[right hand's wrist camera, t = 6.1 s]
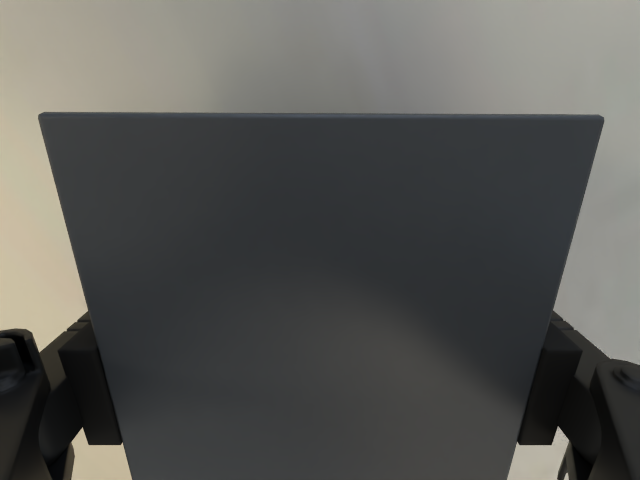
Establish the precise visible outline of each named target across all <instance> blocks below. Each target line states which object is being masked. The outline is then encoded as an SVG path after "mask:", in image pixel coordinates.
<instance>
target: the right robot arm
mask: <svg viewBox="0 0 640 480" xmlns="http://www.w3.org/2000/svg"><path fill="white" fill-rule="evenodd" d="M558 426H559V427H560V429H561V430H562V431H563V433H564V434H565V435H566V437H567V438H568V439H569V443H568V446H567V449H566V452H565V454H564V457H563V460H562V463H561V466H560V468H559V471H558V477H557V479H558V480H564V477H565V474H566V473H568V476H569V480H640V365H637V364H634V363H631V362H628V361H623V360H617V359H610V358H609V357H607V356H606V355H605V354H604V353H603V352H601V351H600V350H599V349H598V348H597V347H596V346H594V345H593V344H592V343H591V342H590V341H589V340H587V339H586V338H585V337H584V336H583V335H581V334H580V333H579V332H578V331H577V330H574V328H573V327H572V326H571V325H570V324H568V323H567V322H566V321H563V318H561V317H560V316H559V315H558V314H557V313H555V312H554V311H552V315H551V319H550V322H549V326H548V330H547V333H546V337H545V341H544V344H543V348H542V352H541V355H540V359H539V363H538V367H537V370H536V374H535V378H534V381H533V385H532V389H531V392H530V396H529V400H528V403H527V407H526V411H525V414H524V418H523V422H522V425H521V429H520V433H519V436H518V440H517V442H518V443H519V445H552V442H553V439H554V436H555V433H556V430H557V427H558ZM82 427H83V429H84V432H85V435H86V438H87V441H88V444H89V445H121V444H122V438H121V434H120V430H119V426H118V422H117V419H116V415H115V411H114V407H113V403H112V399H111V395H110V392H109V388H108V384H107V380H106V376H105V372H104V369H103V365H102V361H101V357H100V353H99V349H98V346H97V342H96V338H95V334H94V330H93V326H92V323H91V319H90V315H89V311H88V312H86V313H85V314H84V315H83V316H82V317H81V318H79V319H78V321H77V322H75V323H74V324H72V325H71V326H70V327H69V328H68V329H67V331H64V332H63V333H62V334H61V335H60V336H58V337H57V338H56V339H55V340H54V341H53V342H51V343H50V344H49V345H48V346H47V347H46V348H44V349H43V350H42V351H41V352H40V353H39V351H38V348H37V345H36V343H35V340H34V337H33V334H32V332H30V331H28V330H26V329H9V330H2V331H0V480H71V477H72V471H73V464H74V457H75V455H74V449H73V446H72V443H71V442H72V440H73V439H74V438H75V436H76V435H77V434H78V432H79V431H80V430H81V428H82Z"/></svg>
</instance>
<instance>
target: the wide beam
mask: <svg viewBox="0 0 640 480" xmlns="http://www.w3.org/2000/svg"><path fill="white" fill-rule="evenodd" d="M38 119H39V123H40V127H41V131H42V135H43V139H44V142H45V146H46V150H47V154H48V158H49V162H50V165H51V169H52V173H53V177H54V181H55V185H56V188H57V192H58V196H59V200H60V204H61V208H62V211H63V215H64V219H65V223H66V227H67V231H68V234H69V238H70V242H71V246H72V250H73V254H74V257H75V261H76V265H77V269H78V273H79V277H80V280H81V284H82V288H83V292H84V296H85V300H86V303H87V307H88V311H89V315H90V319H91V323H92V326H93V330H94V334H95V338H96V342H97V346H98V349H99V353H100V357H101V361H102V365H103V369H104V372H105V376H106V380H107V384H108V388H109V392H110V395H111V399H112V403H113V407H114V411H115V415H116V419H117V422H118V426H119V430H120V434H121V438H122V442H123V445H124V449H125V453H126V457H127V461H128V465H129V468H130V472H131V476H132V480H507V477H508V473H509V469H510V466H511V462H512V458H513V455H514V451H515V447H516V444H517V440H518V436H519V433H520V429H521V425H522V422H523V418H524V414H525V411H526V407H527V403H528V400H529V396H530V392H531V389H532V385H533V381H534V378H535V374H536V370H537V367H538V363H539V359H540V355H541V352H542V348H543V344H544V341H545V337H546V333H547V330H548V326H549V322H550V319H551V315H552V311H553V308H554V304H555V300H556V297H557V293H558V289H559V286H560V282H561V278H562V275H563V271H564V267H565V264H566V260H567V256H568V253H569V249H570V245H571V241H572V238H573V234H574V230H575V227H576V223H577V219H578V216H579V212H580V208H581V205H582V201H583V197H584V194H585V190H586V186H587V183H588V179H589V175H590V172H591V168H592V164H593V161H594V157H595V153H596V150H597V146H598V142H599V139H600V135H601V131H602V127H603V124H604V117H602V116H600V115H562V114H346V113H131V112H43V113H41V114H39V116H38Z"/></svg>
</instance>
